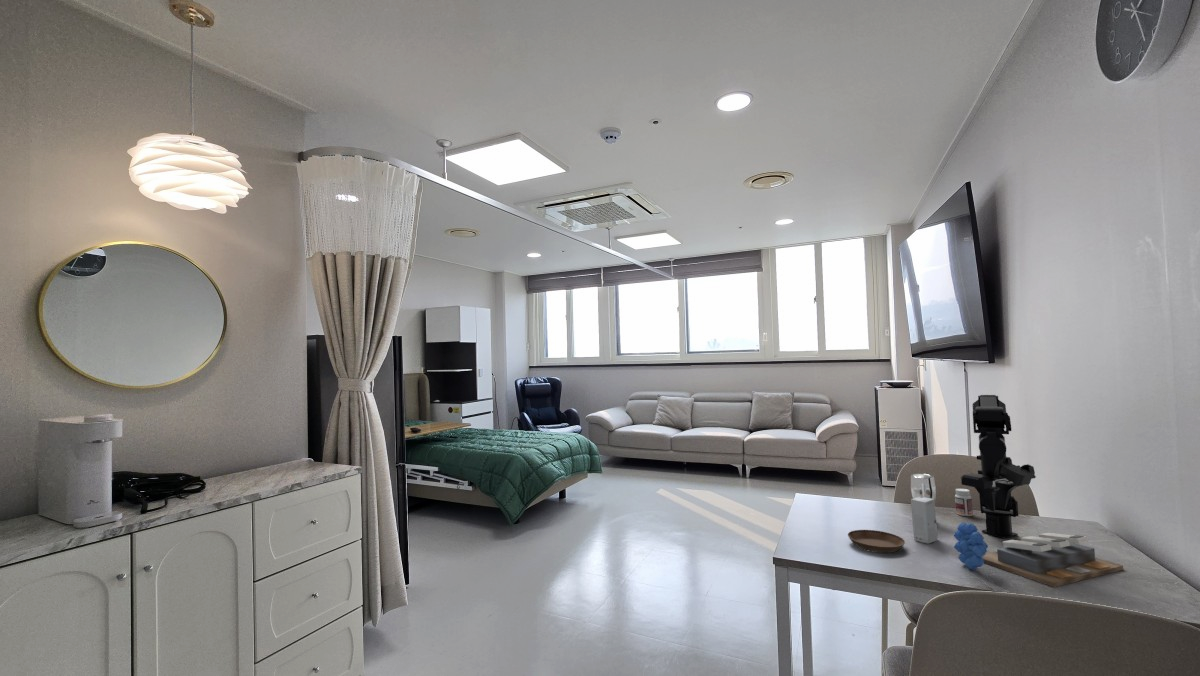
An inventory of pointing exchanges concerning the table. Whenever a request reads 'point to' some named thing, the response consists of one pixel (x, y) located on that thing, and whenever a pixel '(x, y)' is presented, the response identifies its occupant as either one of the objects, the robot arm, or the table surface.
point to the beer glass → (923, 486)
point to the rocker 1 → (1027, 545)
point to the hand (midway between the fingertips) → (997, 509)
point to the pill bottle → (963, 502)
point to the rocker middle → (1047, 541)
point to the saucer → (876, 540)
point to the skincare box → (924, 520)
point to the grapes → (970, 545)
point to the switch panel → (1051, 578)
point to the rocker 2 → (1065, 537)
